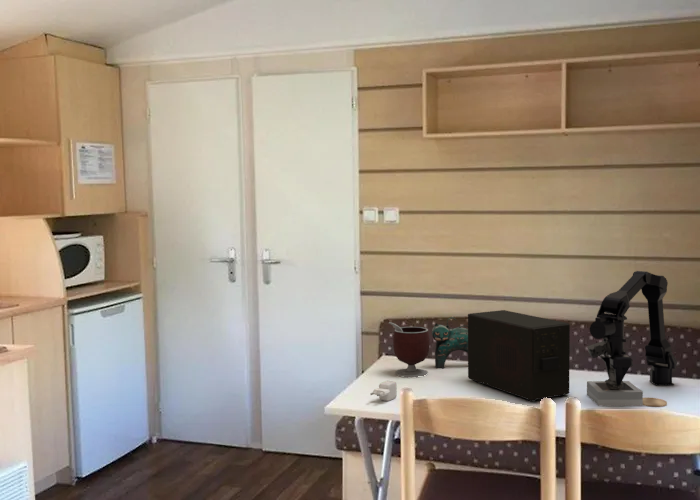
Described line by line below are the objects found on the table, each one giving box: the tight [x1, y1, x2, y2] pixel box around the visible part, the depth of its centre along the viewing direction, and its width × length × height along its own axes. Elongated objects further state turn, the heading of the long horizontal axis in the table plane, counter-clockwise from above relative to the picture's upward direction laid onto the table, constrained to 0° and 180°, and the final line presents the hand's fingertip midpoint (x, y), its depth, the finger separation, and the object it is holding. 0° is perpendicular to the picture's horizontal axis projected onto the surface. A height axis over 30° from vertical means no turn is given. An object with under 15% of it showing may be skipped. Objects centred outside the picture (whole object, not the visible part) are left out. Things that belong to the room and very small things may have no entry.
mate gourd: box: [388, 321, 431, 378], centre depth 293 cm, size 16×14×20 cm
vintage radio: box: [467, 309, 571, 402], centre depth 269 cm, size 38×20×25 cm, turn 28°
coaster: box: [643, 397, 668, 408], centre depth 249 cm, size 9×9×1 cm
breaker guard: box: [586, 380, 644, 407], centre depth 253 cm, size 14×14×4 cm
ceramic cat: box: [431, 317, 468, 369], centre depth 303 cm, size 20×6×20 cm, turn 95°
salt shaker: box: [604, 363, 624, 390], centre depth 252 cm, size 6×6×12 cm
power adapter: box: [370, 380, 398, 402], centre depth 256 cm, size 11×5×6 cm, turn 144°
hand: (614, 381), depth 253 cm, fingers closed on salt shaker, 8 cm apart
